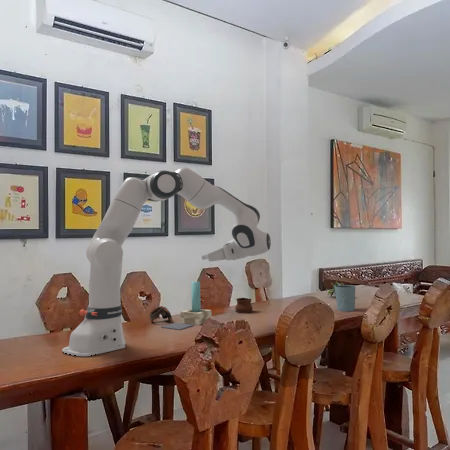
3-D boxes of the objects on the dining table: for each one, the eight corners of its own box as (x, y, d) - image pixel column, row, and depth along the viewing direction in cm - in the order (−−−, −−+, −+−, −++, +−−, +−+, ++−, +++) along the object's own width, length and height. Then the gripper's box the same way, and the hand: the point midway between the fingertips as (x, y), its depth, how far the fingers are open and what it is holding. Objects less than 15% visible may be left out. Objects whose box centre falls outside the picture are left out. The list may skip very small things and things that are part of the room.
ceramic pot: (262, 309, 235) (261, 295, 235) (261, 316, 217) (260, 301, 217) (228, 309, 237) (227, 296, 237) (224, 316, 220) (223, 302, 220)
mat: (179, 330, 187) (179, 329, 187) (161, 327, 193) (161, 326, 193) (194, 325, 196) (194, 324, 196) (176, 323, 201) (176, 322, 201)
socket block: (198, 325, 197) (198, 313, 197) (180, 322, 202) (180, 311, 202) (211, 321, 205) (211, 310, 205) (194, 319, 211) (194, 308, 211)
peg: (197, 323, 201) (196, 282, 201) (190, 322, 203) (189, 282, 203) (202, 321, 204) (201, 281, 205) (195, 320, 207) (194, 281, 207)
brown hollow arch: (172, 325, 200) (163, 310, 199) (154, 334, 202) (144, 319, 200) (176, 313, 212) (167, 299, 210) (159, 322, 213) (150, 307, 212)
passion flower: (343, 306, 270) (354, 290, 266) (332, 305, 263) (343, 289, 259) (332, 294, 278) (342, 278, 274) (320, 292, 271) (331, 276, 267)
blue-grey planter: (355, 312, 221) (354, 287, 221) (334, 311, 224) (333, 287, 224) (356, 308, 231) (355, 285, 231) (336, 307, 234) (335, 284, 234)
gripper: (241, 238, 204) (215, 245, 209) (224, 245, 185) (195, 252, 190) (245, 252, 204) (218, 258, 209) (228, 260, 185) (199, 267, 191)
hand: (207, 255), depth 200 cm, fingers open, 8 cm apart
